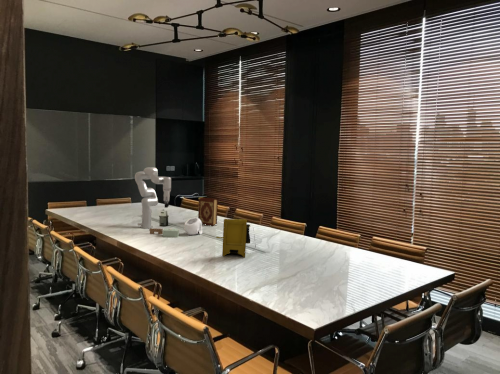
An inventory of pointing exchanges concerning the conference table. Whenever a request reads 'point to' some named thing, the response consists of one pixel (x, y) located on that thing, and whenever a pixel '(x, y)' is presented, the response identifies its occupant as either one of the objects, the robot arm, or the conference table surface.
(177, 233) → the pale green box
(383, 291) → the conference table surface
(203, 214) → the decorative book
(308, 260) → the conference table surface
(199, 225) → the skull planter
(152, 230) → the wooden staple shape
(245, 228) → the olive boxy piece
